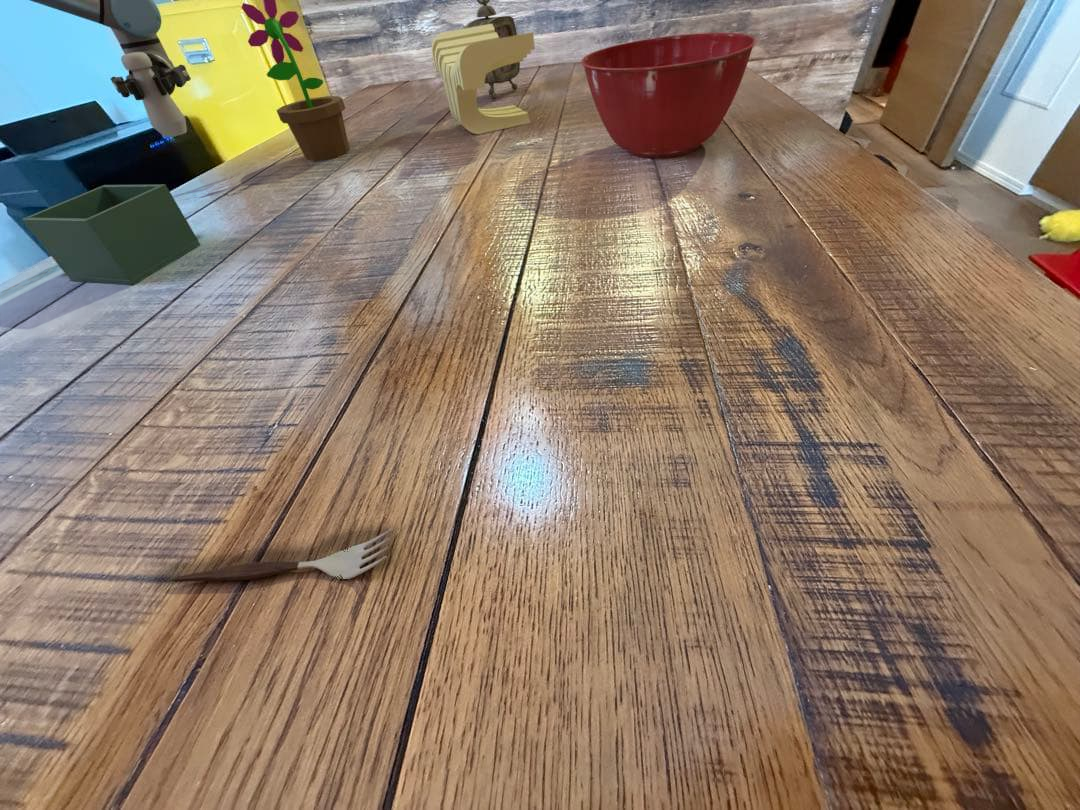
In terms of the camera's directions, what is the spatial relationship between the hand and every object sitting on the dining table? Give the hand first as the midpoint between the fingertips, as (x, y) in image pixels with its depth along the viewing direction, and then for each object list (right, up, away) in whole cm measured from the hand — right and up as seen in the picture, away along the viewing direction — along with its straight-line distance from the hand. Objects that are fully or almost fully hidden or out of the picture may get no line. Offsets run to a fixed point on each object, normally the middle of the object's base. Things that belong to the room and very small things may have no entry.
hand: (148, 88), depth 88 cm
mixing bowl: (+91, -7, +7) cm, 91 cm away
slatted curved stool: (+56, +12, +34) cm, 67 cm away
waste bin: (+3, -32, -6) cm, 33 cm away
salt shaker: (-2, -3, +9) cm, 10 cm away
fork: (+50, -67, -53) cm, 99 cm away
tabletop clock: (+56, +34, +58) cm, 88 cm away
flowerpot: (+18, +4, +31) cm, 36 cm away
